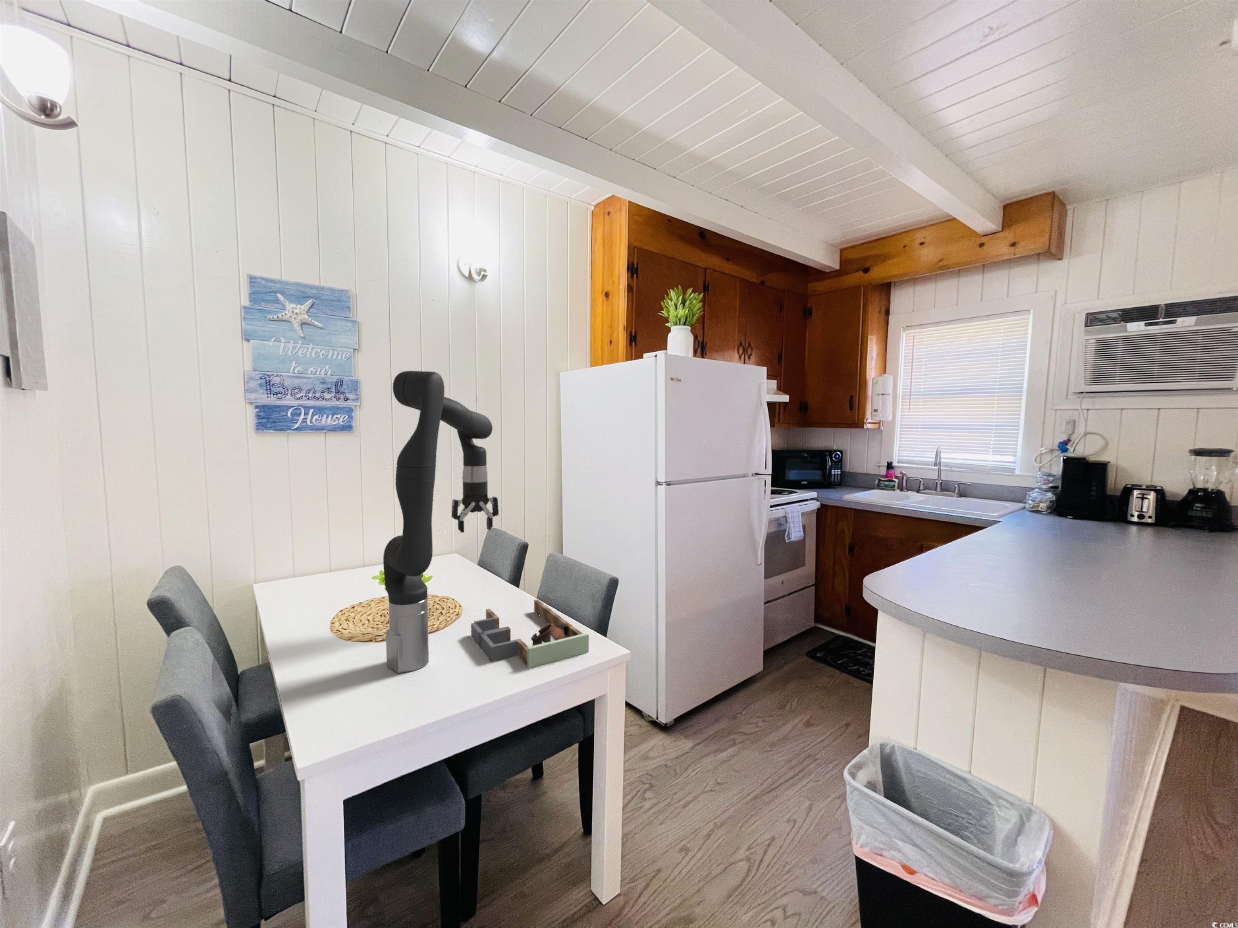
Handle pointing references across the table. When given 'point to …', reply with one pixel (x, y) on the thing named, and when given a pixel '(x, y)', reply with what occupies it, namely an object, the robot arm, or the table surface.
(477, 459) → the robot arm
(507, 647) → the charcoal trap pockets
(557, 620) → the walnut track
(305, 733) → the table surface
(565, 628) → the brown black figurine
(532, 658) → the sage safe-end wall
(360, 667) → the table surface
